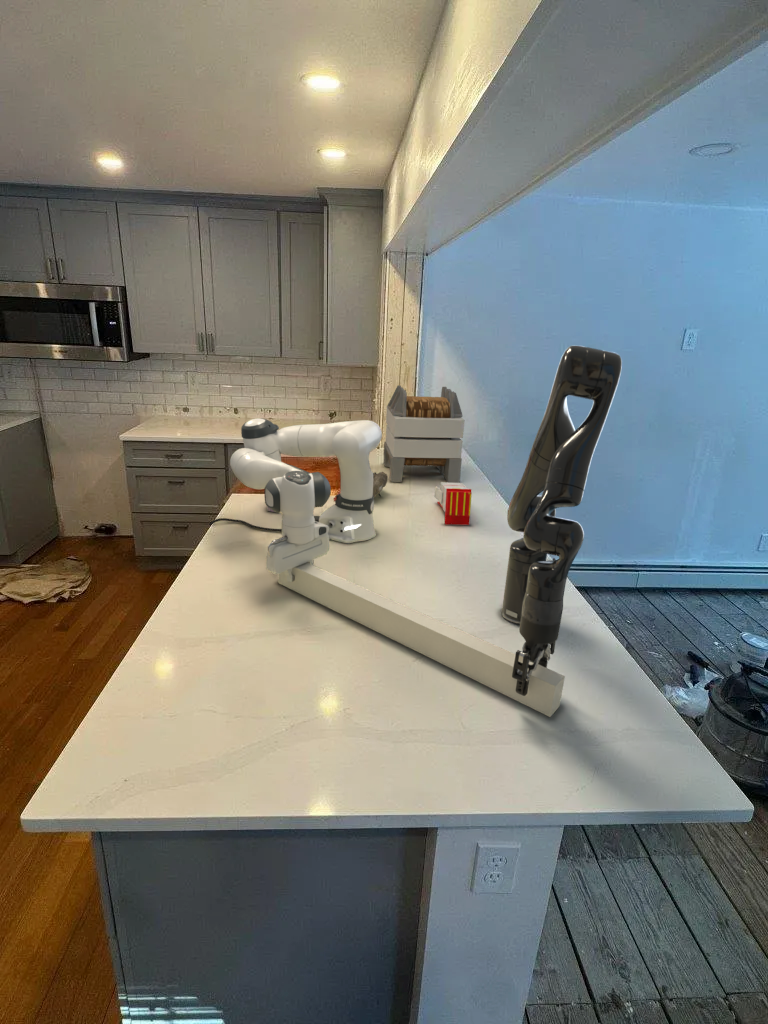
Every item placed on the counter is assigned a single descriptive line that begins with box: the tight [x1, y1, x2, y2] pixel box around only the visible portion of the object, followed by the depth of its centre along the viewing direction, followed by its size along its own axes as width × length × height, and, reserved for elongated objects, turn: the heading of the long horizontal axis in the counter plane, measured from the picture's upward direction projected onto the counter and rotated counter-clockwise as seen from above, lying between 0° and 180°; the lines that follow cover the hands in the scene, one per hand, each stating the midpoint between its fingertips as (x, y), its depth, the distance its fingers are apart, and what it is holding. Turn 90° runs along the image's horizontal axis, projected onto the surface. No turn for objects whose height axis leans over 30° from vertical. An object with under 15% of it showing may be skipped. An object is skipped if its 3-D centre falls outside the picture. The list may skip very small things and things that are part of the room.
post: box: [277, 562, 566, 718], centre depth 137 cm, size 82×4×7 cm, turn 50°
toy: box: [434, 481, 472, 526], centre depth 221 cm, size 12×13×30 cm
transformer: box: [383, 384, 465, 483], centre depth 268 cm, size 34×33×41 cm
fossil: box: [373, 471, 389, 498], centre depth 236 cm, size 22×10×15 cm
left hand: (298, 577), depth 158 cm, fingers closed on post, 4 cm apart
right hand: (530, 683), depth 116 cm, fingers open, 8 cm apart
